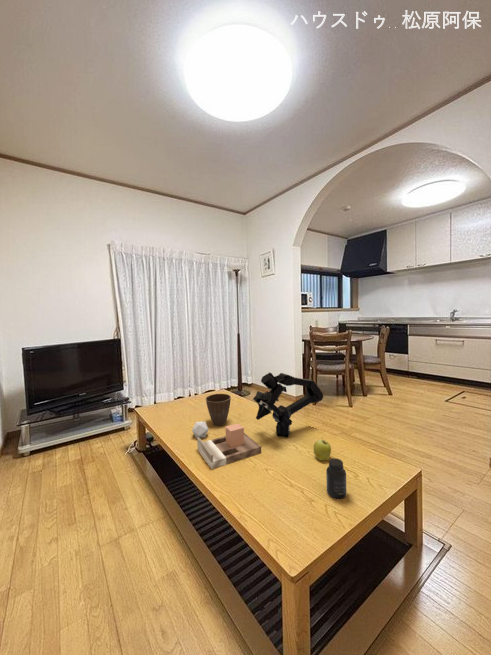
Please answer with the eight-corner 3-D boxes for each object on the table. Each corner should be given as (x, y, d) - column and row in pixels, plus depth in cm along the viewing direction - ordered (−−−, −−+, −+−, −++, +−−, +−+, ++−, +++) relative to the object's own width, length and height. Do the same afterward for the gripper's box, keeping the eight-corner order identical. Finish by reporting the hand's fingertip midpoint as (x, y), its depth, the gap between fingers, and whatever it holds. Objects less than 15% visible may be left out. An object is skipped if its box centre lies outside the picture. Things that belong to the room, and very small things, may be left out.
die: (201, 443, 137) (210, 426, 140) (187, 434, 138) (197, 417, 141) (203, 441, 145) (212, 425, 147) (190, 433, 146) (199, 417, 149)
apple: (308, 456, 118) (312, 434, 119) (318, 455, 123) (321, 434, 124) (323, 464, 112) (326, 440, 113) (332, 462, 117) (336, 440, 118)
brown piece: (242, 436, 141) (242, 425, 141) (261, 452, 124) (260, 440, 124) (197, 449, 129) (197, 437, 129) (211, 469, 113) (210, 455, 112)
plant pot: (230, 428, 151) (229, 401, 150) (204, 429, 152) (203, 402, 151) (232, 418, 166) (231, 393, 165) (209, 418, 167) (207, 394, 166)
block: (238, 438, 133) (238, 423, 132) (244, 443, 127) (243, 427, 127) (226, 442, 129) (225, 426, 129) (231, 447, 124) (230, 431, 124)
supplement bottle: (323, 488, 98) (323, 457, 98) (341, 486, 99) (340, 455, 98) (331, 501, 92) (330, 468, 91) (350, 499, 92) (349, 466, 91)
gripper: (255, 381, 144) (238, 405, 139) (275, 389, 127) (256, 416, 123) (268, 392, 148) (251, 416, 143) (288, 402, 131) (270, 429, 127)
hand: (256, 419), depth 134 cm, fingers closed
